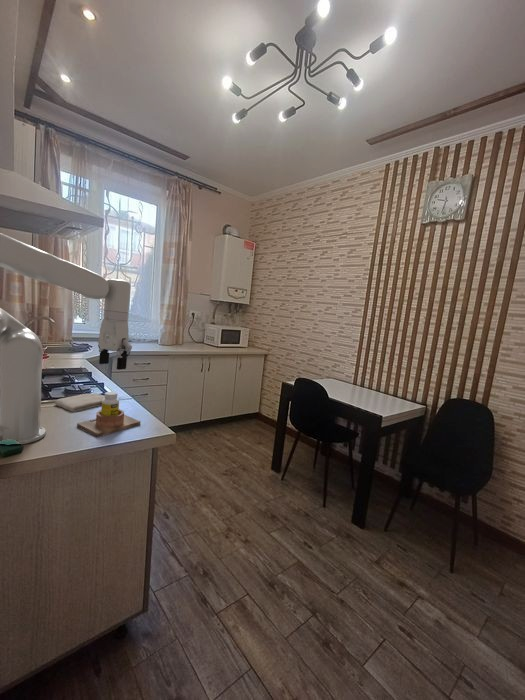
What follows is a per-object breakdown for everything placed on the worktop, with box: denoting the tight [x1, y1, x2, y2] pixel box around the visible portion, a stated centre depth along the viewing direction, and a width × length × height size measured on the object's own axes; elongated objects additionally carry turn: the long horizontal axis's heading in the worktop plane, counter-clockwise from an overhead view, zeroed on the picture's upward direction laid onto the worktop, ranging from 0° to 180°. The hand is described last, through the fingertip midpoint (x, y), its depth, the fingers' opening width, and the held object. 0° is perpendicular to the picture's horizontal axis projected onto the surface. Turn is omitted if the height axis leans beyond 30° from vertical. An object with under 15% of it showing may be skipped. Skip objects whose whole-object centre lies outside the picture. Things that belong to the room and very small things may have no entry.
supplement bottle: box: [100, 391, 120, 416], centre depth 106 cm, size 5×5×10 cm
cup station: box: [76, 409, 141, 438], centre depth 107 cm, size 16×12×5 cm
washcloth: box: [54, 392, 105, 413], centre depth 125 cm, size 12×18×3 cm, turn 153°
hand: (112, 366), depth 105 cm, fingers open, 9 cm apart
